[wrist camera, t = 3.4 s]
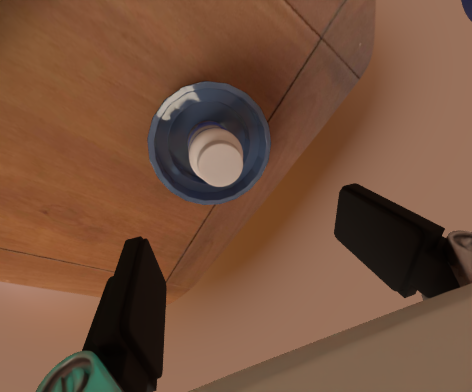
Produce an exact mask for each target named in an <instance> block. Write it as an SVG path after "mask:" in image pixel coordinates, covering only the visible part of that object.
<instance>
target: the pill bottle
mask: <svg viewBox="0 0 472 392" xmlns="http://www.w3.org/2000/svg"><path fill="white" fill-rule="evenodd" d="M188 152H189V161H190V165H191V167H192V169H193V171H194V172H195V173H196V175H197V176H199V177H200V178H201V179H203V180H204V181H205V182H207V183H208V184H210V185H212V186H216V187H224V186H227V185H230V184H232V183H233V182H235V181H236V180H237V179H238V177H239V176H240V174H241V172H242V169H243V150H242V146H241V144H240V142H239V141H238V139H237V138H236V137H235V136H234V135H233V134H232V133H231V132H229V131H228V130H227V129H226V128H225V127H223V126H222V125H221V124H219V123H217V122H214V121H203V122H200V123H198V124H196V125H195V126H194V127H193V128H192V129H191V131H190V133H189V135H188Z"/></svg>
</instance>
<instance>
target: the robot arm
mask: <svg viewBox="0 0 472 392" xmlns="http://www.w3.org/2000/svg"><path fill="white" fill-rule="evenodd" d="M444 230H445V228H443V227H441V226H439V225H437V224H435V223H433V222H431V221H429V220H427V219H425V218H423V217H421V216H420V215H418V214H416V213H414V212H412V211H410V210H407V209H406V208H404V207H402V206H400V205H398V204H396V203H394V202H392V201H390V200H388V199H386V198H384V197H382V196H380V195H378V194H376V193H374V192H372V191H370V190H368V189H366V188H364V187H363V186H360V185H359V184H350V185H346V186H343V187H342V189H341V190H340V192H339V199H338V207H337V215H336V222H335V229H334V234H335V237H336V238H337V239H338V240H339V241H340V242H341V243H342V244H343V245H344V246H345V247H346V248H347V249H349V250H350V251H351V252H352V253H353V254H354V255H355V256H356V257H357V258H358V259H359V260H360V261H362V262H363V263H364V264H365V265H366V266H367V267H368V268H369V269H370V270H372V272H374V273H375V274H376V275H377V276H378V277H379V278H380V279H381V280H383V282H385V283H386V284H387V285H388V286H389V287H390V288H391V289H392V290H394V291H397V292H398V293H399V294H400V295H402V296H403V297H404V298H406V297H409V296H412V295H414V294H416V291H417V290H418V291H419V292H420V293H422V298H423V301H422V302H419V303H416V304H414V305H411V306H408V307H406V308H403V309H400V310H397V311H395V312H392V313H389V314H387V315H384V316H381V317H379V318H376V319H374V320H371V321H368V322H366V323H363V324H360V325H358V326H355V327H353V328H350V329H347V330H345V331H342V332H339V333H337V334H334V335H332V336H329V337H327V338H324V339H321V340H318V341H316V342H313V343H311V344H308V345H306V346H303V347H300V348H298V349H295V350H292V351H290V352H287V353H285V354H282V355H279V356H277V357H274V358H272V359H269V360H267V361H264V362H261V363H259V364H256V365H254V366H251V367H249V368H246V369H243V370H241V371H238V372H236V373H233V374H231V375H228V376H226V377H223V378H221V379H218V380H216V381H213V382H211V383H209V384H206V385H204V386H201V387H199V388H196V389H194V390H192V391H189V392H472V232H469V231H453V232H450V233H449V234H448V236H447V238H444V237H442V234H443V232H444ZM165 309H166V282H165V279H164V277H163V274H162V272H161V270H160V267H159V265H158V263H157V260H156V258H155V255H154V253H153V251H152V248H151V246H150V244H149V241H148V240H147V239H143V238H142V237H136V238H132V239H128V240H126V241H125V244H124V247H123V250H122V253H121V256H120V259H119V262H118V264H117V267H116V270H115V273H114V276H112V277H110V278H109V279H108V281H107V283H106V286H105V289H104V292H103V294H102V297H101V300H100V303H99V305H98V308H97V311H96V314H95V316H94V319H93V322H92V324H91V327H90V330H89V333H88V336H87V338H86V341H85V344H84V347H83V349H82V351H81V352H77V353H74V354H72V355H70V356H68V357H67V358H65V359H64V360H63V361H61V362H60V363H59V364H57V365H56V366H55V367H54V368H53V369H52V370H51V371H50V372H49V373H48V374H47V376H46V377H45V378H44V380H43V381H42V382H41V384H40V385H39V386H38V388H37V390H36V392H153V391H156V386H157V379H158V378H160V377H161V376H162V370H163V350H164V330H165Z"/></svg>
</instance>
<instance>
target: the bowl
mask: <svg viewBox="0 0 472 392" xmlns="http://www.w3.org/2000/svg"><path fill="white" fill-rule="evenodd" d="M203 121H214V122H217V123H219V124H221V125H222V126H223V127H225V128H226V129H227V130H228V131H229V132H231V133H232V134H233V135H234V136H235V137H236V138H237V139H238V141H239V142H240V144H241V146H242V150H243V169H242V172H241V174H240V176H239V177H238V179H237V180H236V181H235V182H233V183H232V184H230V185H227V186H224V187H216V186H212V185H210V184H208V183H207V182H205V181H204V180H203V179H201V178H200V177H199V176H197V175H196V173H195V172H194V171H193V169H192V167H191V165H190V161H189V152H188V135H189V133H190V131H191V129H192V128H193V127H194V126H195V125H196V124H198V123H200V122H203ZM270 148H271V139H270V131H269V125H268V123H267V121H266V118H265V116H264V114H263V112H262V110H261V108H260V107H259V106H258V105H257V103H256V102H255V101H254V100H253V99H252V98H251V97H250V96H249V95H248V94H247V93H245V92H244V91H242V90H239V89H237V88H235V87H233V86H231V85H229V84H227V83H220V82H210V81H203V82H199V83H195V84H191V85H187V86H184V87H182V88H181V89H179V90H178V91H176V92H175V93H174V94H172V95H171V96H169V97H168V98H166V99H165V100H164V102H163V103H162V105H161V106H160V108H159V109H158V111H157V112H156V114H155V115H154V117H153V119H152V122H151V126H150V130H149V134H148V150H149V159H150V162H151V164H152V166H153V168H154V171H155V173H156V175H157V177H158V178H159V180H160V181H161V182H162V183H163V184H164V185H165V186H166V187H167V188H168V189H169V190H170V191H171V192H172V193H174V194H176V195H177V196H179V197H181V198H183V199H184V200H186V201H190V202H194V203H198V204H202V205H209V204H222V203H225V202H228V201H231V200H234V199H236V198H238V197H239V196H241V195H242V194H244V193H245V192H247V191H248V190H250V189H251V188H252V187H253V186H254V184H255V183H256V182H257V181H258V180H259V179H260V177H261V176H262V174H263V171H264V169H265V167H266V165H267V163H268V160H269V154H270Z"/></svg>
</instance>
